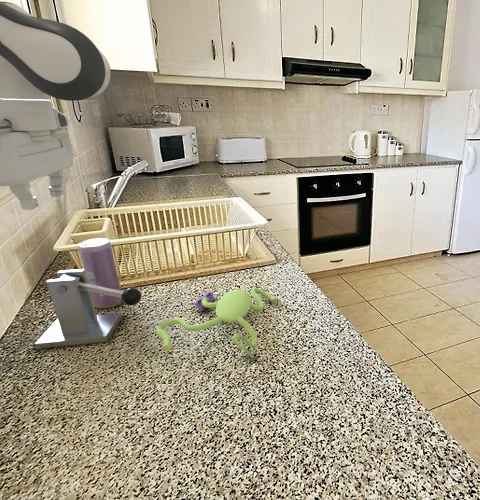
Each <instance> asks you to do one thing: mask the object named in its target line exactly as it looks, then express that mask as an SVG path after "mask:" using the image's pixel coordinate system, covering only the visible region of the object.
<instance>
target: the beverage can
mask: <svg viewBox="0 0 480 500" xmlns="http://www.w3.org/2000/svg"><path fill="white" fill-rule="evenodd" d="M78 252H79V256H80V261H81V264H82V269H85V273H86V277H87V281H88V284H91V285H96V286H100V287H105V288H110V289H115V290H120V291H122V287H121V283H120V278H119V273H118V268H117V266H116V260H115V256H114V252H113V247H112V244H111V242H110V240H109V239H108V238H103V237H99V238H98V237H97V238H91V239H86V240H83V241H81V242H79V243H78ZM91 296H92V300H93V304H94V307H95V308H98V309H109V308H113V307H115V306H117V305H119V304H121V302H122V300H121V298H119V297H114V296H109V295H104V294H99V293H94V292H91Z"/></svg>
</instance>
